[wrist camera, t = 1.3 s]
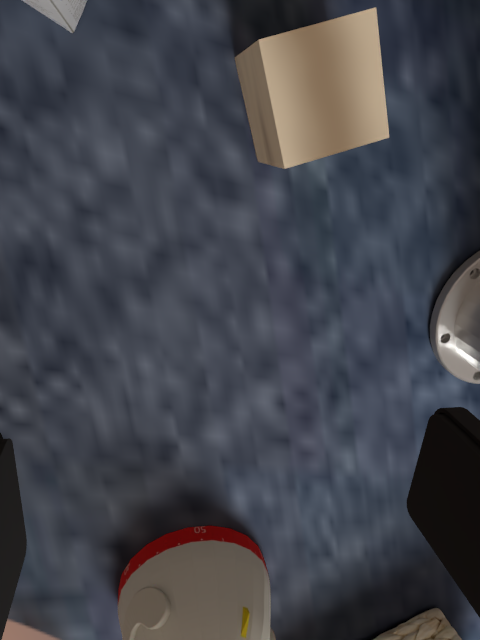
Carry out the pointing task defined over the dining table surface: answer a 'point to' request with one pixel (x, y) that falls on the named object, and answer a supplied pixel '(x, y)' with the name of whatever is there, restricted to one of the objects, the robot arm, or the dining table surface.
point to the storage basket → (423, 628)
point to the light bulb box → (60, 11)
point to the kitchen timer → (196, 588)
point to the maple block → (315, 90)
